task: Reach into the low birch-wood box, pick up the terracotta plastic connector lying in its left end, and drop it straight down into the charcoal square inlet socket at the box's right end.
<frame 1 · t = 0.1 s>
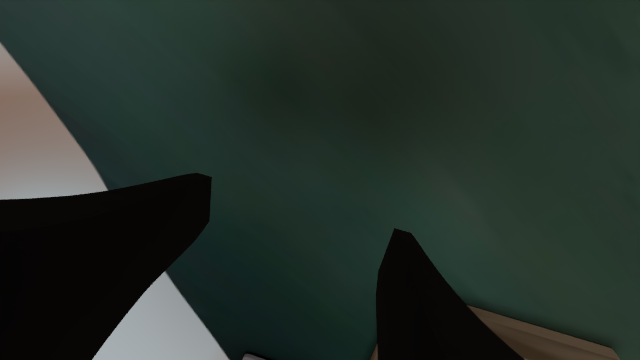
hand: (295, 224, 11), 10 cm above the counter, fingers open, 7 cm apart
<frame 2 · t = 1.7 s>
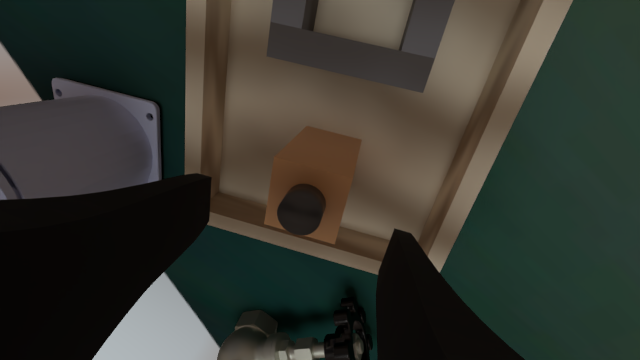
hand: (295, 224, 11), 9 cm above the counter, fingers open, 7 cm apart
connector: (328, 158, 18), point 1 cm above the counter, touching walled box
walled box: (347, 83, 17), on the counter
valve: (298, 316, 26), on the counter
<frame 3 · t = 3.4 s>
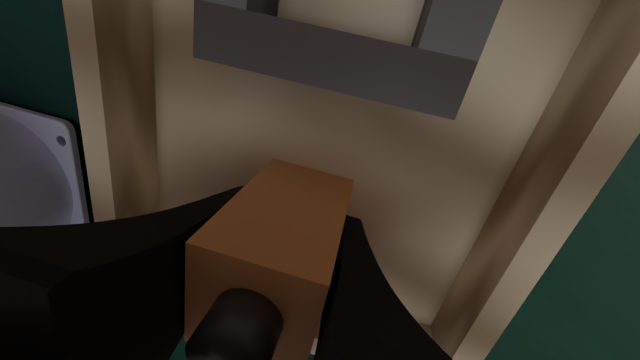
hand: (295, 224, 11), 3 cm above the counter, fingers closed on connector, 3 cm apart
connector: (305, 204, 13), point 1 cm above the counter, touching gripper, walled box
walled box: (332, 96, 12), on the counter
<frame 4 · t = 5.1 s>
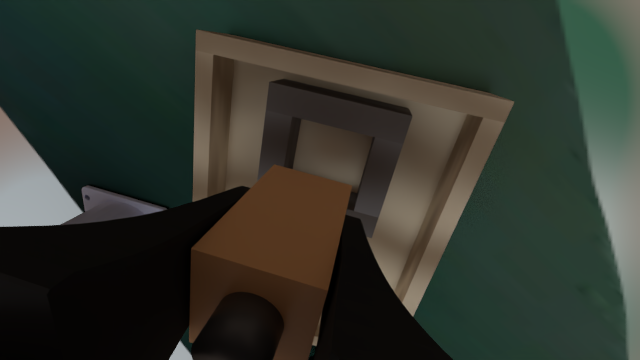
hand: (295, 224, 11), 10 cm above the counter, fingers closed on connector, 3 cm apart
connector: (305, 209, 13), point 8 cm above the counter, touching gripper
walled box: (320, 205, 22), on the counter
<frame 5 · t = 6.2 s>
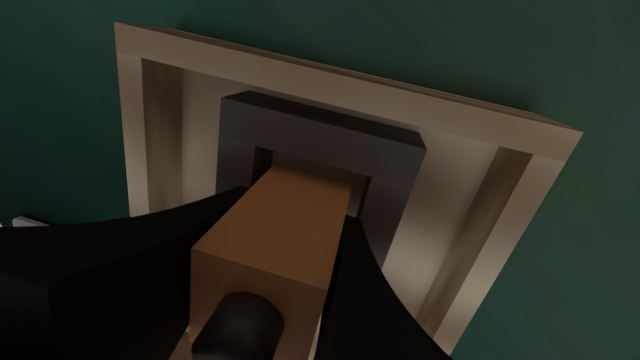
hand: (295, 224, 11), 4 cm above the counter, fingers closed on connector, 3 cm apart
connector: (305, 208, 13), point 3 cm above the counter, touching gripper
walled box: (303, 248, 17), on the counter
when the fingers open (4 cm above the counter, at t = 6.8 s): connector drops 2 cm, resting on walled box.
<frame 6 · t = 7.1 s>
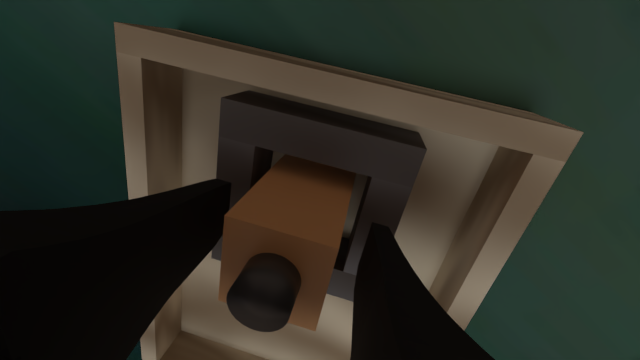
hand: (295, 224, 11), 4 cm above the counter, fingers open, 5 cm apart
connector: (313, 193, 14), point 1 cm above the counter, touching walled box
walled box: (303, 248, 17), on the counter
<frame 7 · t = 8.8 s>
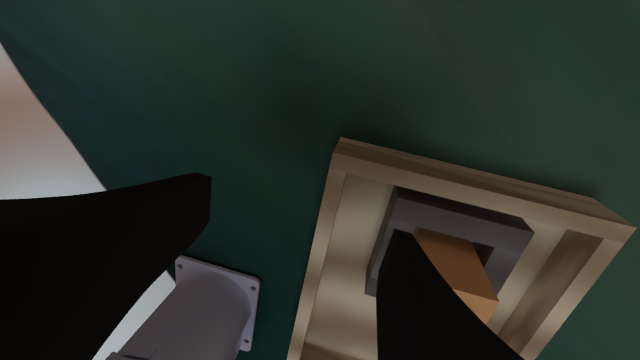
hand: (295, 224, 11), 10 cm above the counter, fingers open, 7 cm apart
connector: (432, 247, 20), point 1 cm above the counter, touching walled box
walled box: (411, 281, 23), on the counter
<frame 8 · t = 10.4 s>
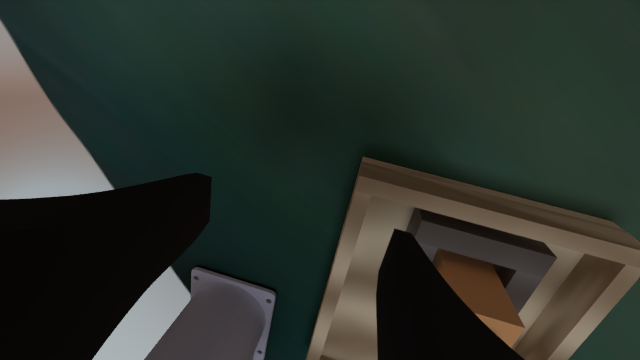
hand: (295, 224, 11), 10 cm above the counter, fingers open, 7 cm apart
connector: (451, 265, 21), point 1 cm above the counter, touching walled box
walled box: (428, 297, 23), on the counter
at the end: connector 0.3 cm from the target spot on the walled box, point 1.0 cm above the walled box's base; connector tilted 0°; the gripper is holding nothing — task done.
